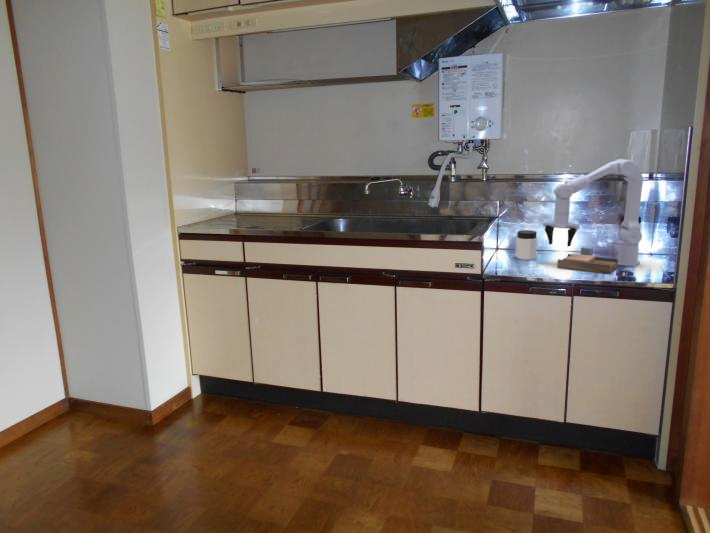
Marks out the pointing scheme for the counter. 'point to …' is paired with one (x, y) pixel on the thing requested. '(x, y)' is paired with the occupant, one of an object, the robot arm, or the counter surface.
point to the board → (590, 265)
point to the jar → (526, 245)
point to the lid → (580, 258)
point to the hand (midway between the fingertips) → (559, 244)
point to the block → (587, 250)
